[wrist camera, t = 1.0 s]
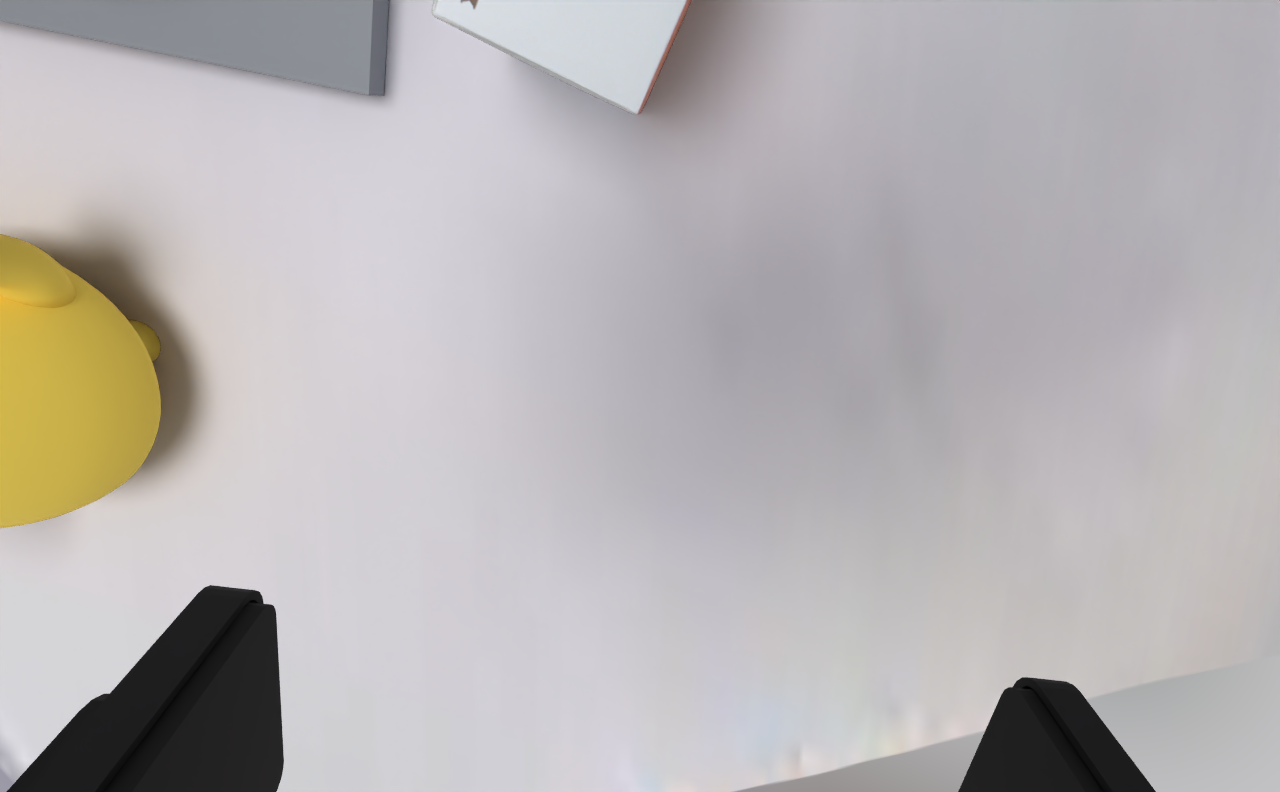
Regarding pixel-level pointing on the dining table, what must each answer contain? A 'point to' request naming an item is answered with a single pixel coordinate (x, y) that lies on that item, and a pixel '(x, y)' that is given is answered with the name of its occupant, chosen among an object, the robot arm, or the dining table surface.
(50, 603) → the dining table surface
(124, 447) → the teapot
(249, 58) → the plate
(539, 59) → the small box
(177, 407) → the dining table surface
